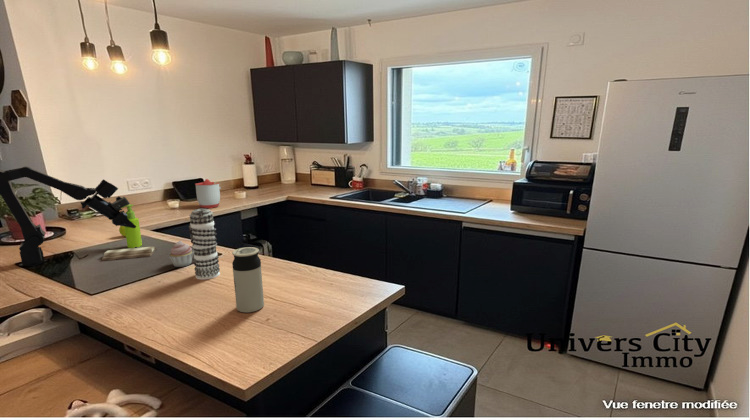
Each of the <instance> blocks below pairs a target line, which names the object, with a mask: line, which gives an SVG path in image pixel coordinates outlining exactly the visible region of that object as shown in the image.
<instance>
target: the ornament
mask: <svg viewBox="0 0 750 420" xmlns="http://www.w3.org/2000/svg"><path fill="white" fill-rule="evenodd" d="M118 232H119V234H120V235H121V236H122V237H125V238H126V233H125V227H124V226H119V229H118Z"/></svg>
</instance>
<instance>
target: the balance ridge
mask: <svg viewBox="0 0 750 420" xmlns="http://www.w3.org/2000/svg"><path fill="white" fill-rule="evenodd" d="M155 250H157V247H155V246H145V247H143V246H141V247H137V248H121V249H110V250H109V249H108V250H106V251H105V252H104V253H103V254H104V256H103V257H102V258H101V261H102V262H105V261H115V260H116V259H117V260H126V258H128V259H135V258H137V257H139V258H148V257H152V255H153V254H154V253H155V252H156V251H155Z"/></svg>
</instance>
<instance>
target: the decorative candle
mask: <svg viewBox="0 0 750 420" xmlns="http://www.w3.org/2000/svg"><path fill="white" fill-rule="evenodd" d="M213 214H214V212H213V211H211V209H210V208H196V209H193V210H192V211H191V213H190V214H188V216H189V221H190V223H189V226H188V230H189V231H188V232H189V238H190V243H191V244H192V245H191V248H192V249H193V252H194V254H193V258H192V259H193V262H194V263H193V264H194V275H195V278H196V279H197V280H200V281H201V280H204V281H205V280H212V279H214V278H218V277H219V276H220V275H221V272H220V271H221V270H220V267H221V266H220V264H219V262H220V260H219V255H218V251H217V245H218V242H217V241H218V238H217V237H216V236H217V235H218V233H217V232H216V231H217V230H218V229H217V228H216V227H214V226H216V225H217V223H216V222H215V221H214V216H213Z"/></svg>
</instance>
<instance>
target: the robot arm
mask: <svg viewBox="0 0 750 420" xmlns="http://www.w3.org/2000/svg"><path fill="white" fill-rule="evenodd" d="M23 178H28V179H29V180H33V181H35V182H38V183H40V184H43V185H46V186H49V187H51V188H53V189H56V190H59V191H60V192H63V193H64V194H65V195H67V196H69V197H70V198H72V199H74V200H77V201H80V204H81V209H85V208H86V207H89V208H90V209H92V210H94V211H95V212H96V213H98V214H100V215H102V216H104V217H105V218H107V219H108V220H109V221H111V223H112V225H115V226H116V227H120V226H124V227H130V228H136V226H135V225H134V224H133V223H132V222H131V221H130V220H129V219H128V217H127V214H126V212H125V210H123V208H121V207H124V206H126V205H129V204H131V203H130V201H128V199H127V198H126V196H123V197H121V196H117V197H115V201H113V202H111V201H107V200H105V199H107V198H108V199H110V198H112V196H113V195H114V194H115V193H116V192H117V191H118V189H119V187H117V186H115V184H113V183H111V182H109V181H107V180H105V179H102V180H100V183H99V184H98V185H97V186H96V187H85V186H83V185H80V184H76V183H72V182H66V181H65V180H64V181H63V180H60V179H58V178H56V177H53V176H51V175H48V174H46V173H43V172H41V171H38V170H37V169H34V168H32V167H30V166H28V165H27V166H26V165H25V166H22V167H19V168H18V167H17V168H13V169H8V170H2V169H0V196H1V197H2V199H3V201H4V203H5V204H6V206H7V208H9V210H10V212H11V214H12V215H13V217H14V219H15V221H17V223H18V225H19V227H20V230H21V234H22V237H23V241H22V242H21V243H20V246H19V248H18V250H19V256H20V260H21V263H20V264H18V266H19V267H35V266H37V265H41V264H44V263H46V262H48V259H45V256H44V252H43V250H42V247H41V245H42V244H43V243H44V242H45V236H46V232H45V231H44V229H43V228H42V225H41V224H40V223H39V224H37V225H36V224H35V223H34V222H33V221H32V219H31V218H30V217H29V216H30V215H28V212H27V211H26V209H25V208H24V206H23V204H22V203H21V202H20V200H19V198H18V196H17V194H16V192H15V191H14V188H13V183H12V181H15V180H19V179H23ZM124 208H125V207H124Z"/></svg>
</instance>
